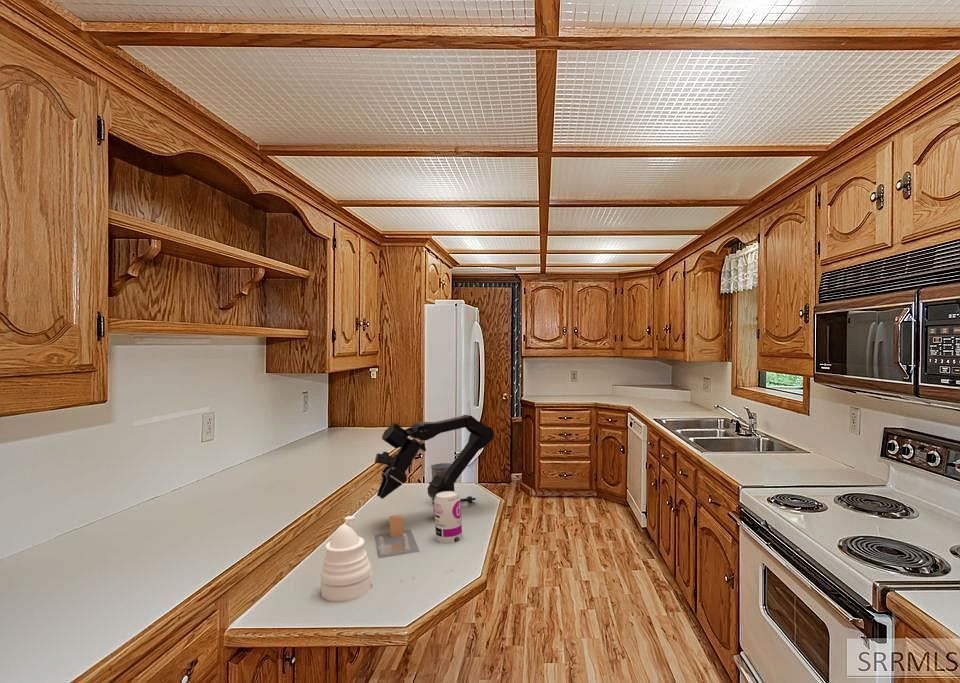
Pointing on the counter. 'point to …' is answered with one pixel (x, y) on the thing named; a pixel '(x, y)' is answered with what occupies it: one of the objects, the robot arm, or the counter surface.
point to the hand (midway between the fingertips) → (379, 497)
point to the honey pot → (345, 566)
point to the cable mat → (395, 540)
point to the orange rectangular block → (396, 525)
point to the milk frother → (440, 470)
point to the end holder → (394, 547)
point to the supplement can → (448, 517)
